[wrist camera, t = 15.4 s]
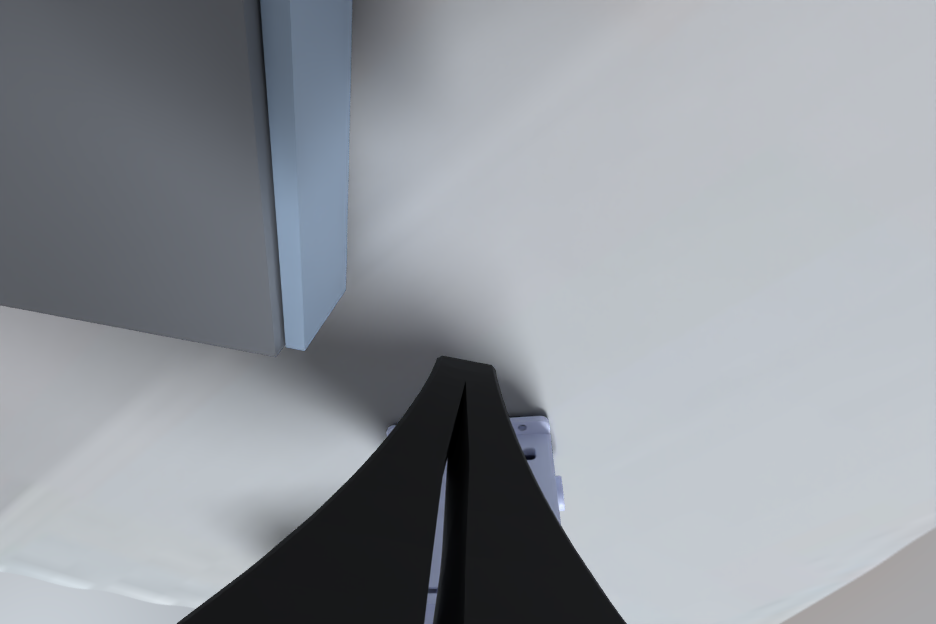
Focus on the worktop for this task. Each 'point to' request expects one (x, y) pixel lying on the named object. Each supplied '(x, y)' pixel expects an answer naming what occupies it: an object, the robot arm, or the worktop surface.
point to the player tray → (309, 153)
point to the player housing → (140, 168)
